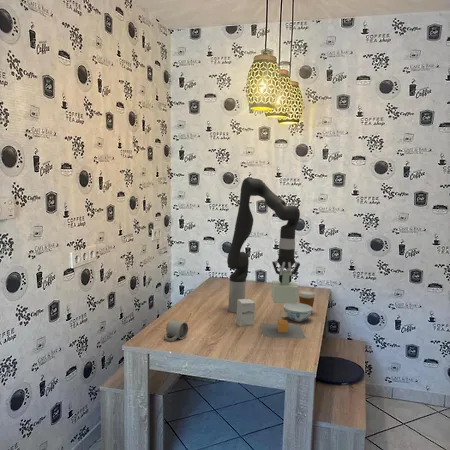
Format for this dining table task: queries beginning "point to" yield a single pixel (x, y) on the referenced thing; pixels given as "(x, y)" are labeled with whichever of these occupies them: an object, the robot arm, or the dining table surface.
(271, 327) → the grey mat
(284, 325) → the orange block
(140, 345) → the dining table surface
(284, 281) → the sage cover
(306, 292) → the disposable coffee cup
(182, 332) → the ceramic mug
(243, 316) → the supplement box
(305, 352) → the dining table surface
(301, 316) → the chinaware
